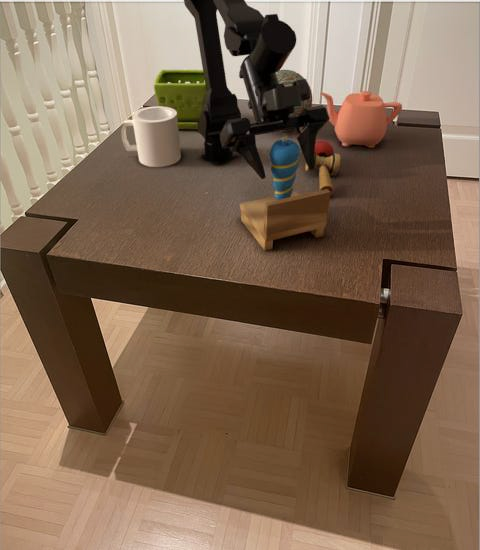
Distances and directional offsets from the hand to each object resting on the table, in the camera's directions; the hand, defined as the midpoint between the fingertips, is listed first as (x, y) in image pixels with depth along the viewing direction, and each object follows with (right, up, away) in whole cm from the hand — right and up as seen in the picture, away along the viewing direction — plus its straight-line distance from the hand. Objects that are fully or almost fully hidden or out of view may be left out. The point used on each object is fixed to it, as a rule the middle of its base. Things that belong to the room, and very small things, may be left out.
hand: (288, 173), depth 78 cm
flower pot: (-23, +25, +50) cm, 60 cm away
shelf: (0, -8, +9) cm, 12 cm away
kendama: (+10, +4, +24) cm, 26 cm away
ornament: (-1, -6, +7) cm, 9 cm away
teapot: (+21, +17, +40) cm, 49 cm away
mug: (-29, +11, +33) cm, 45 cm away
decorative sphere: (+3, +22, +46) cm, 51 cm away
